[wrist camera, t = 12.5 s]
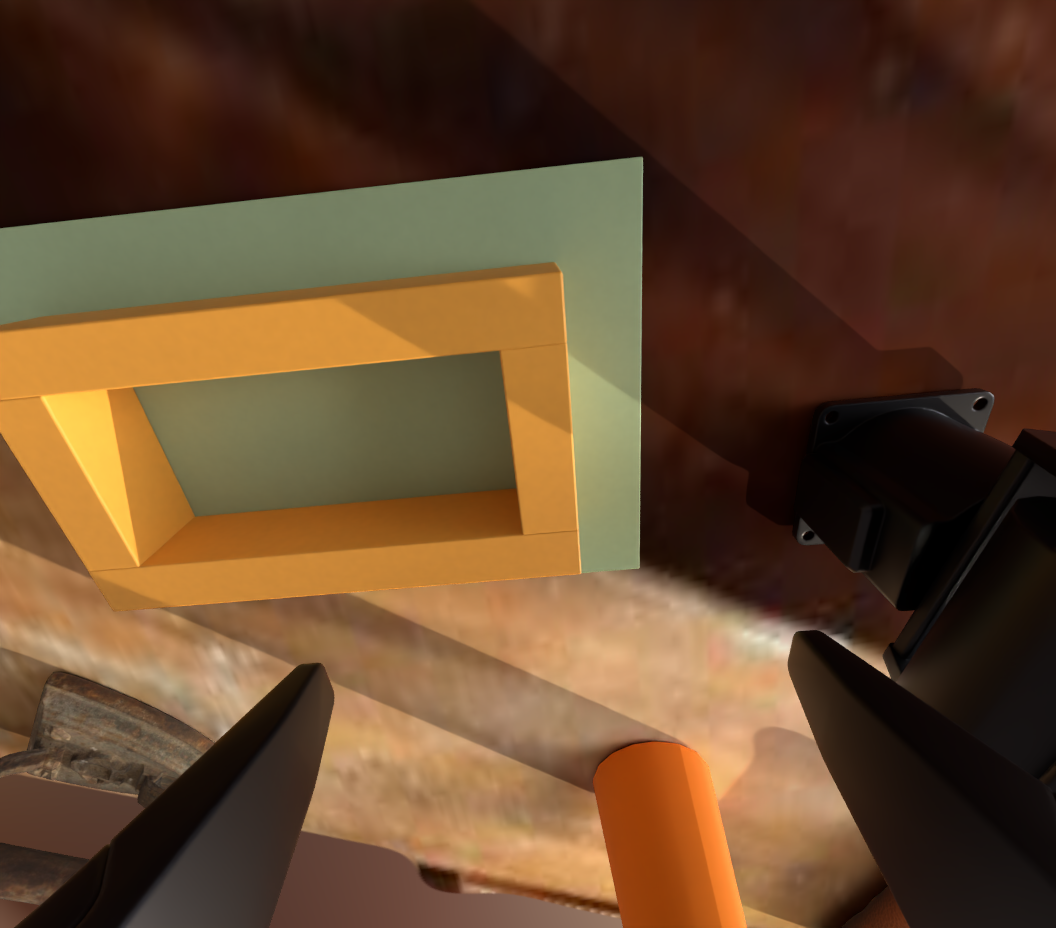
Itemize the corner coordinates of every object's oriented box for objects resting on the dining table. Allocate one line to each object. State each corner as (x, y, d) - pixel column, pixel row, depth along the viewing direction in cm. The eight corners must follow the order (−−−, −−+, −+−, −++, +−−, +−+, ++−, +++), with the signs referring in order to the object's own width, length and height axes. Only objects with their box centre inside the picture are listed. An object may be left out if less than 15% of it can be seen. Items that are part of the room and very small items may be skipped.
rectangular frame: (555, 261, 16) (562, 271, 13) (573, 523, 21) (581, 574, 18) (42, 316, 17) (-63, 337, 14) (170, 557, 22) (113, 612, 19)
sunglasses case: (907, 949, 40) (921, 1054, 34) (815, 887, 42) (814, 976, 37) (1059, 828, 32) (1108, 940, 26) (934, 761, 34) (955, 850, 29)
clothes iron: (46, 656, 26) (-117, 884, 17) (273, 688, 31) (232, 876, 22) (19, 741, 28) (-139, 983, 19) (235, 758, 33) (186, 954, 24)
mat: (640, 157, 15) (643, 156, 15) (637, 563, 22) (639, 568, 22) (-82, 238, 16) (-96, 238, 16) (137, 603, 23) (131, 609, 23)
